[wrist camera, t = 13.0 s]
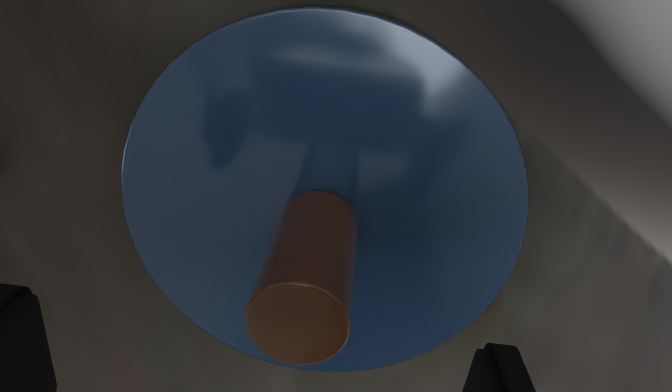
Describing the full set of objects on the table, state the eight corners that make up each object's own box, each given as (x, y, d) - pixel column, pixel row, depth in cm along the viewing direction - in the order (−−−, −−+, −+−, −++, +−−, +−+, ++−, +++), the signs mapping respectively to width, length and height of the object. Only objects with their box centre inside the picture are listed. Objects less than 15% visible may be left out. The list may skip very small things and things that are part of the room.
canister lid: (149, 326, 20) (61, 464, 14) (119, -24, 14) (-52, -18, 8) (466, 371, 20) (502, 529, 14) (576, 35, 14) (715, 80, 8)
